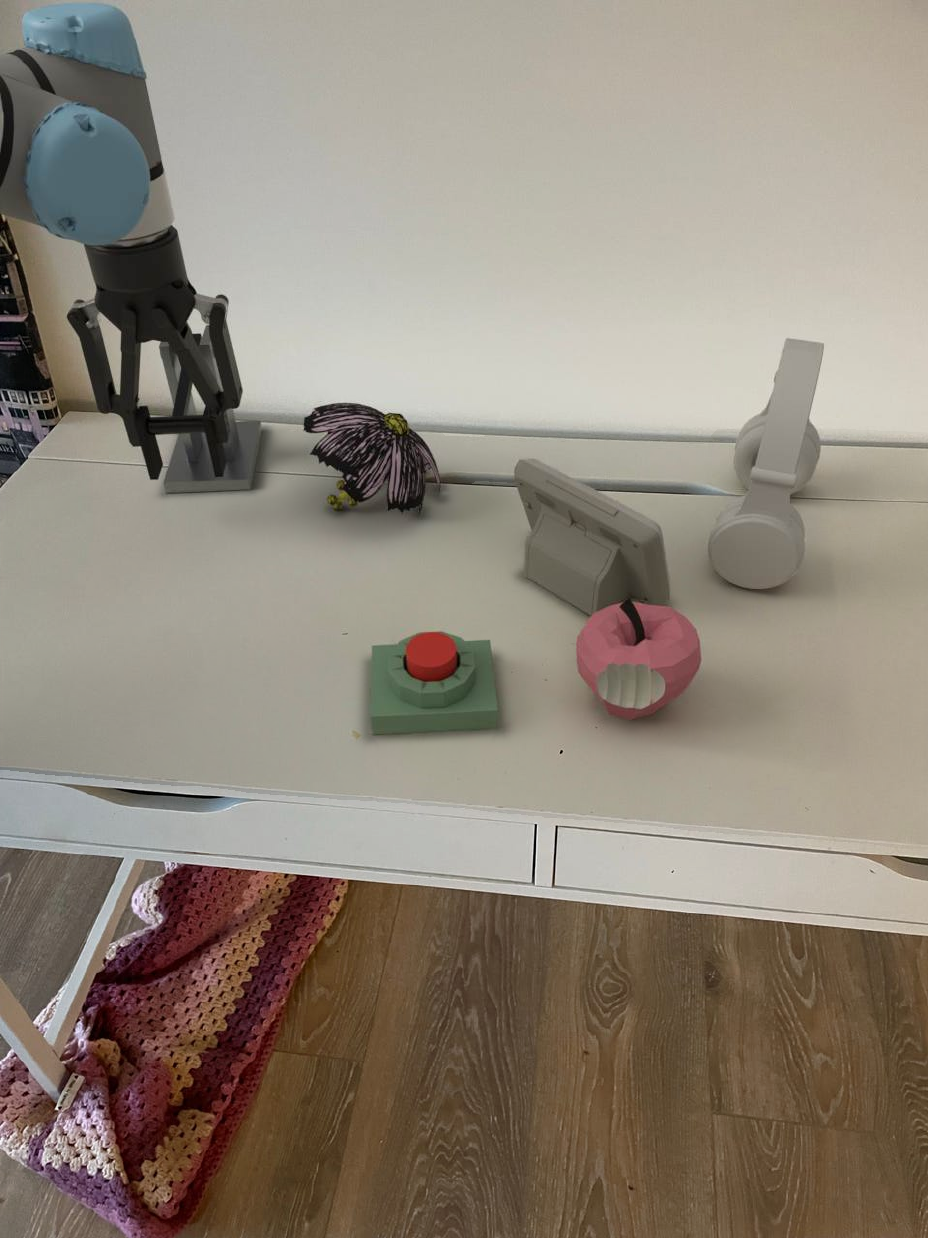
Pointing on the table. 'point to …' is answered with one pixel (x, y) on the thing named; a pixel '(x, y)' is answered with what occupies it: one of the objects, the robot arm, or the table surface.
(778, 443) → the headphones
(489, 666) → the button box
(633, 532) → the digital clock
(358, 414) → the decorative flower
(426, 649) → the button
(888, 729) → the table surface
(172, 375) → the bracket
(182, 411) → the lever
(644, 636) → the apple
